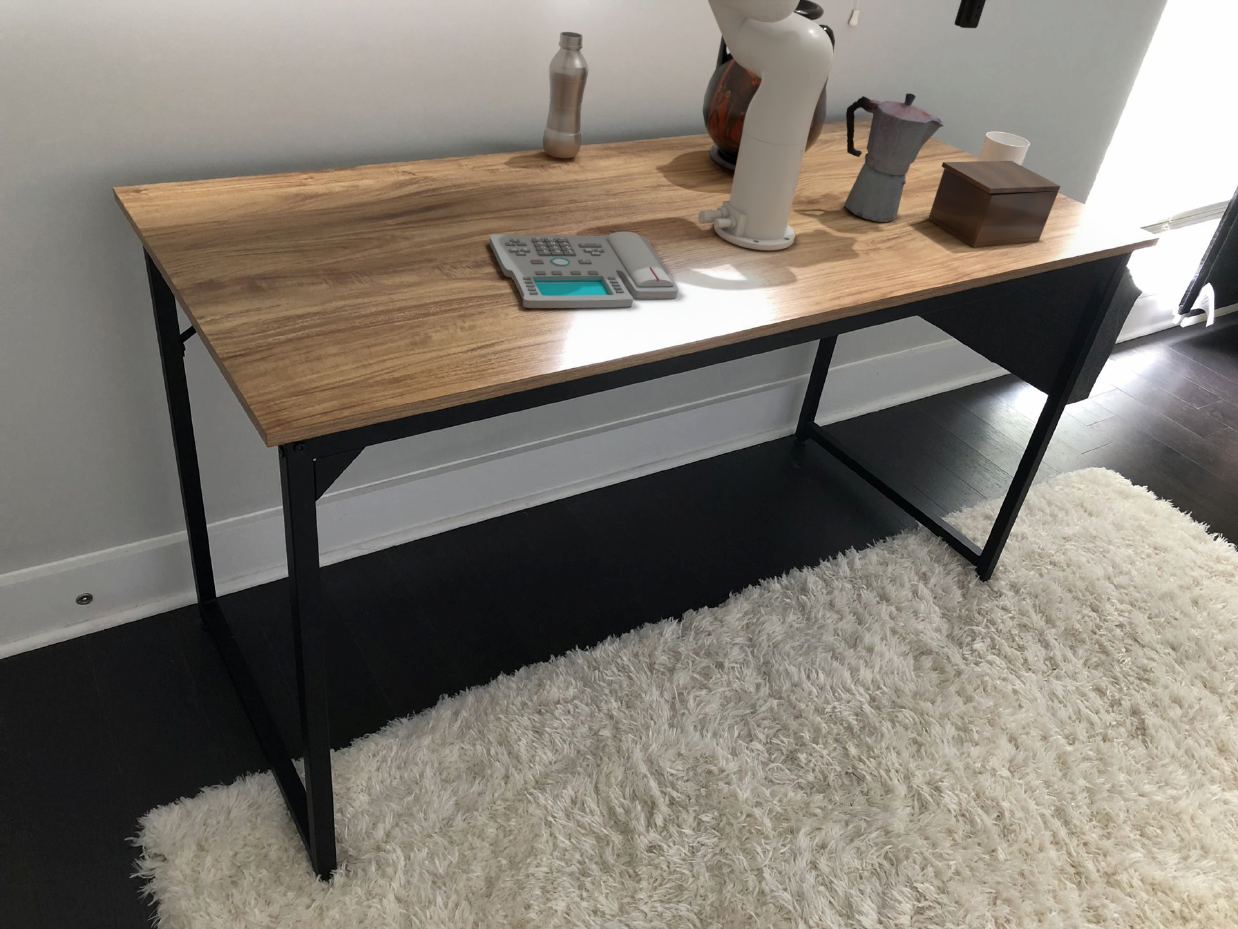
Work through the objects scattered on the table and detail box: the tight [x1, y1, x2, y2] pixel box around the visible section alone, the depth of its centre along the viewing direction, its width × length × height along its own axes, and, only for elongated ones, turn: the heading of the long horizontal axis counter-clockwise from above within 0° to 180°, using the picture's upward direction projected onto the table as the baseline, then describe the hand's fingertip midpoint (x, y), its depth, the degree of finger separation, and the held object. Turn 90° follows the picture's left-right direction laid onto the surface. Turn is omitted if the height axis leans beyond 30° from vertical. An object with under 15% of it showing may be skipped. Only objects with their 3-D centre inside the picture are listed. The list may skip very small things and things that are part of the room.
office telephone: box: [489, 231, 679, 309], centre depth 133 cm, size 23×3×20 cm
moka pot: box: [844, 93, 945, 223], centre depth 160 cm, size 10×15×20 cm, turn 78°
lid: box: [941, 160, 1061, 193], centre depth 160 cm, size 15×12×1 cm
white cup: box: [977, 131, 1031, 166], centre depth 179 cm, size 8×8×10 cm
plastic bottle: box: [542, 31, 589, 159], centre depth 164 cm, size 6×7×20 cm
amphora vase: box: [701, 0, 836, 176], centre depth 169 cm, size 22×22×28 cm
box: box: [927, 168, 1059, 248], centre depth 163 cm, size 15×12×9 cm
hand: (965, 26), depth 146 cm, fingers closed
